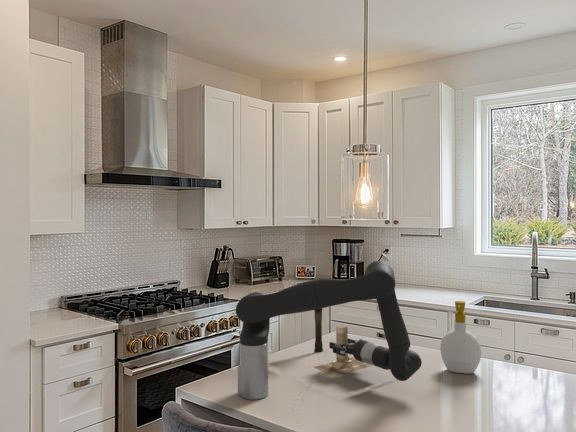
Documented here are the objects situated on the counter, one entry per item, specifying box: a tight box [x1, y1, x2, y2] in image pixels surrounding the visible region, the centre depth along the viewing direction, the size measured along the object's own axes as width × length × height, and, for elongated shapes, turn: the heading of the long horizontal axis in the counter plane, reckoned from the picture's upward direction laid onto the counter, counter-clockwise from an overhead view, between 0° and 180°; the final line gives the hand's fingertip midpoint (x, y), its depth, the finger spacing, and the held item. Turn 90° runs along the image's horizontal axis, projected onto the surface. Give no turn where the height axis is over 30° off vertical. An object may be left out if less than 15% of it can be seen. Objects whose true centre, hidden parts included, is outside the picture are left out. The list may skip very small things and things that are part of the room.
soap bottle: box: [439, 300, 482, 375], centre depth 176 cm, size 14×9×26 cm, turn 66°
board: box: [313, 356, 373, 377], centre depth 183 cm, size 32×12×2 cm, turn 125°
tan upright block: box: [331, 325, 353, 370], centre depth 179 cm, size 7×4×15 cm, turn 125°
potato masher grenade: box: [313, 308, 324, 354], centre depth 200 cm, size 8×9×30 cm
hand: (338, 342), depth 181 cm, fingers open, 8 cm apart
